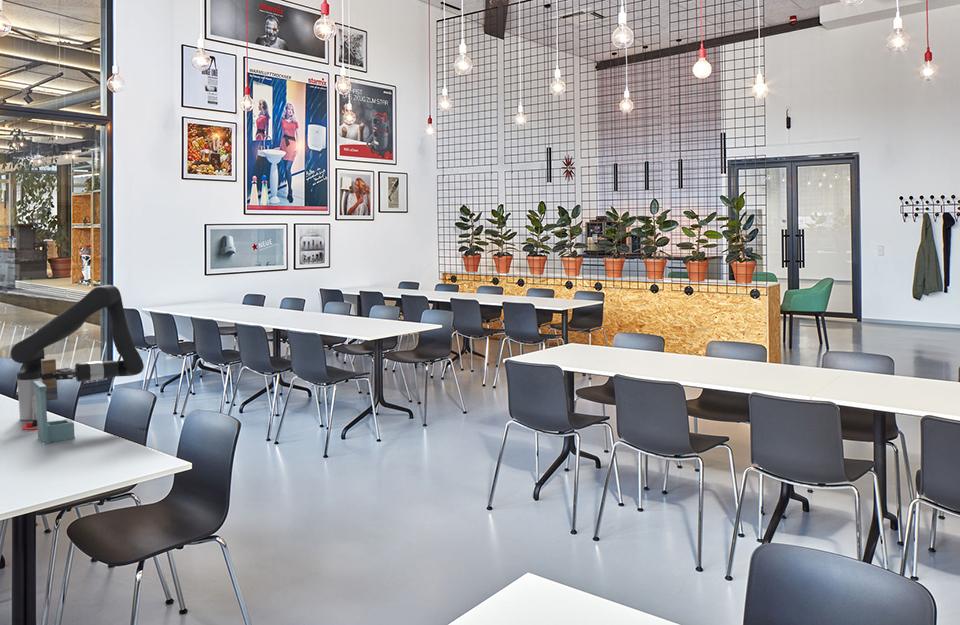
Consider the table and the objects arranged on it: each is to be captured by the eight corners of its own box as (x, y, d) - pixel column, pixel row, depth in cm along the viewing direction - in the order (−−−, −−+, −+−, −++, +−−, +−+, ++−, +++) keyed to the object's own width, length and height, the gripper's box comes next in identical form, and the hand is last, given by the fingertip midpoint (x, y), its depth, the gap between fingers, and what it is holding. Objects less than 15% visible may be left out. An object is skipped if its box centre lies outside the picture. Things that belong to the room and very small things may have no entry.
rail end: (43, 399, 284) (41, 359, 282) (55, 397, 287) (53, 358, 285) (44, 401, 281) (42, 360, 280) (57, 399, 284) (55, 359, 282)
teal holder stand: (36, 437, 277) (33, 381, 274) (68, 432, 284) (65, 377, 281) (43, 444, 266) (39, 386, 264) (76, 439, 273) (72, 383, 271)
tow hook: (46, 430, 289) (47, 423, 297) (44, 398, 287) (45, 393, 295) (21, 432, 285) (23, 426, 293) (19, 401, 283) (21, 395, 291)
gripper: (85, 359, 297) (36, 364, 286) (93, 364, 286) (43, 369, 275) (86, 377, 298) (38, 382, 287) (94, 383, 287) (44, 388, 276)
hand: (40, 376), depth 281 cm, fingers closed on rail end, 3 cm apart
